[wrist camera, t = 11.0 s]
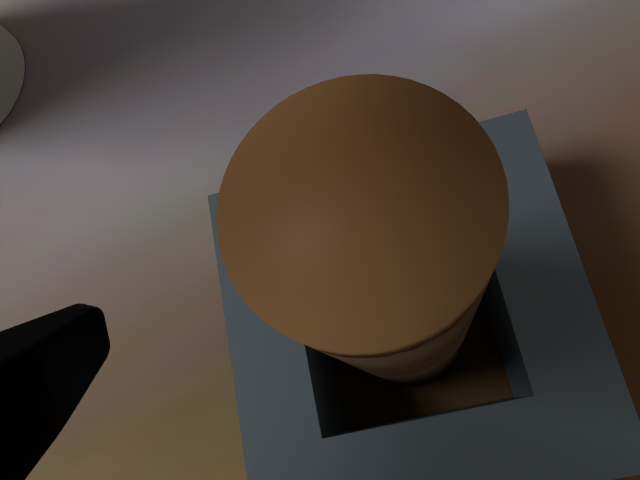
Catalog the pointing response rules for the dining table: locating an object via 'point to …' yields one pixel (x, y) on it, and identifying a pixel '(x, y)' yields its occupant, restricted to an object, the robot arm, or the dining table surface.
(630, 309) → the dining table surface
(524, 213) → the hole block
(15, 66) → the cylindrical container
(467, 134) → the tall walnut pin
